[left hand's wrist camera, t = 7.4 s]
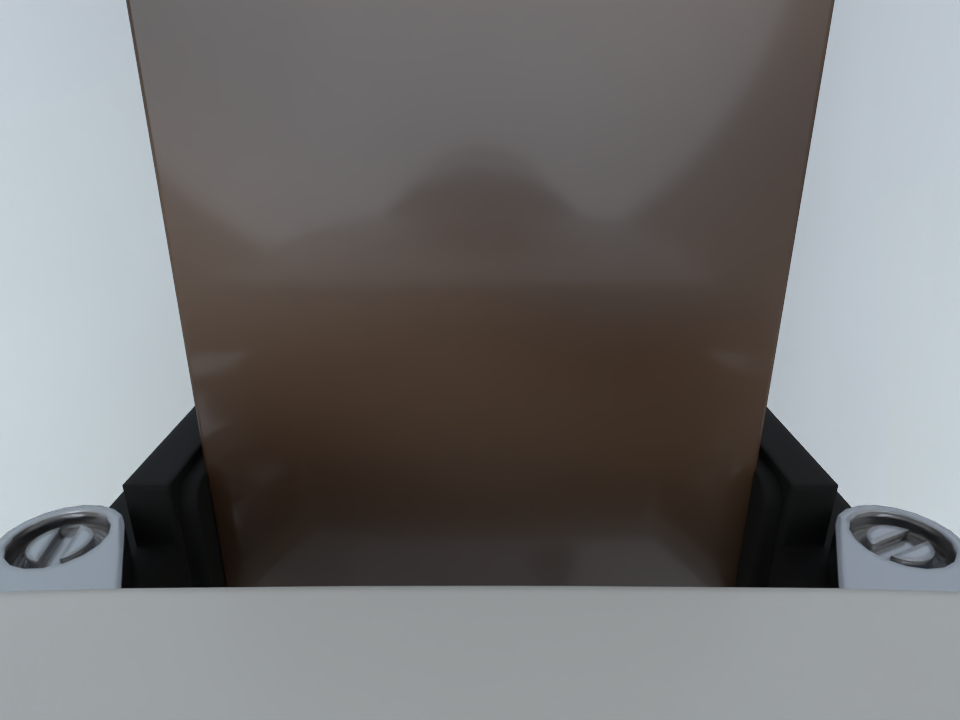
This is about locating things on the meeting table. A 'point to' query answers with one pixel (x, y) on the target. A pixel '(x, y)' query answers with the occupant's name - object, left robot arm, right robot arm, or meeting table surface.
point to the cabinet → (480, 277)
